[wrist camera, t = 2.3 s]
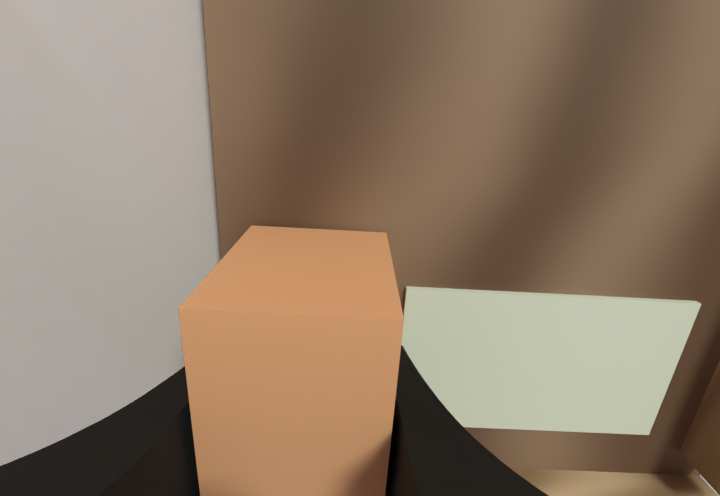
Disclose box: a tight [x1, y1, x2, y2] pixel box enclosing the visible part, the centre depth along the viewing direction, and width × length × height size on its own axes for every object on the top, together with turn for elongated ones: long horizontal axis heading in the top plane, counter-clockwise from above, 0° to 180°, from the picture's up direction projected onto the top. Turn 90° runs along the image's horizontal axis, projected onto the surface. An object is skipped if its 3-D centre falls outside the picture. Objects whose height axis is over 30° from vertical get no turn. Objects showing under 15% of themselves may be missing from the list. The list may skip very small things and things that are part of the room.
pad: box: [401, 286, 701, 435], centre depth 13 cm, size 9×5×1 cm, turn 87°
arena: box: [202, 0, 720, 496], centre depth 12 cm, size 18×18×3 cm
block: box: [178, 225, 404, 496], centre depth 11 cm, size 8×4×5 cm, turn 177°
